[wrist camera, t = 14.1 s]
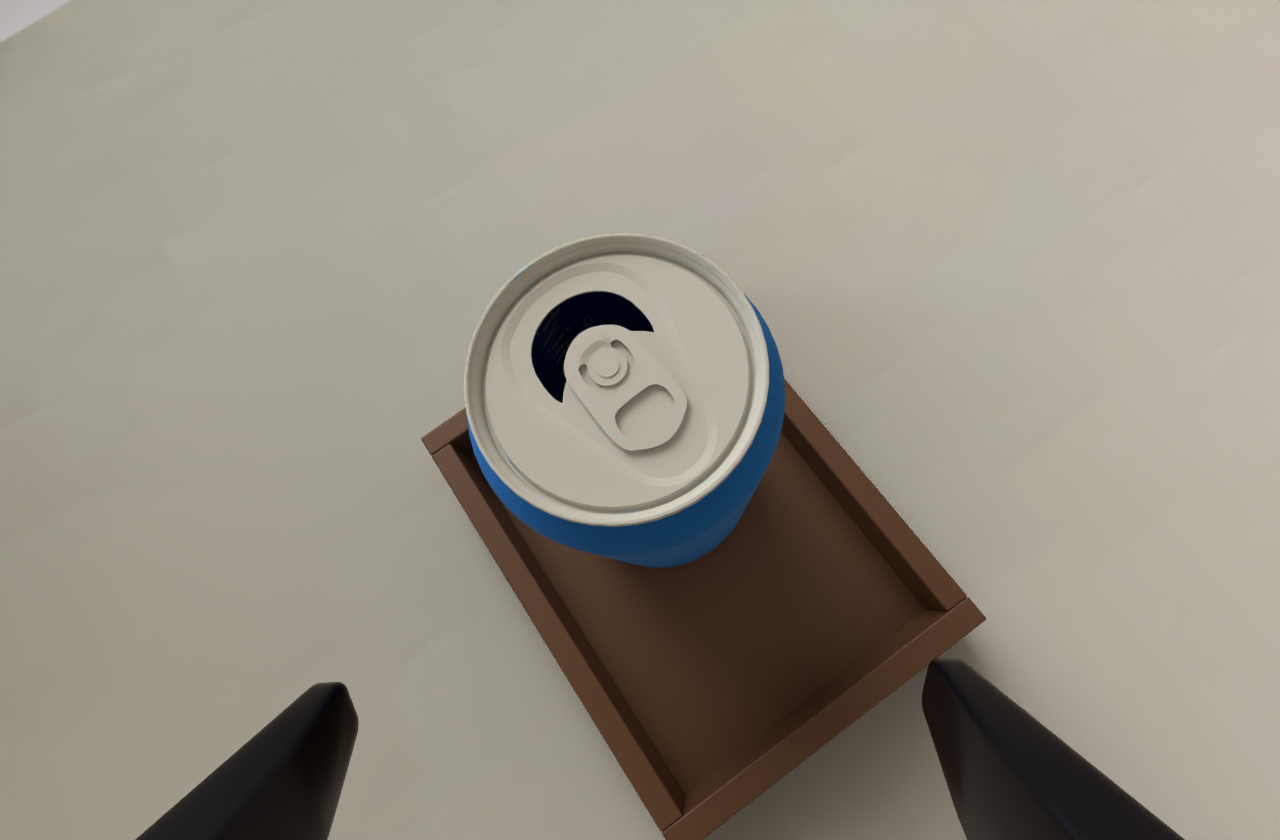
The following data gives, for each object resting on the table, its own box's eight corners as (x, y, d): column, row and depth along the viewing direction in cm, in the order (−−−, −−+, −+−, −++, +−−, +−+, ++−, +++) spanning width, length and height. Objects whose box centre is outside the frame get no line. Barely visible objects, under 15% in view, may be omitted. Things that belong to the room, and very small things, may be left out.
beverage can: (673, 362, 24) (643, 153, 12) (786, 491, 22) (874, 391, 10) (540, 465, 23) (377, 350, 12) (645, 606, 22) (575, 634, 10)
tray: (953, 614, 21) (987, 619, 19) (680, 825, 20) (677, 859, 18) (684, 288, 25) (682, 256, 23) (448, 452, 24) (420, 438, 22)
